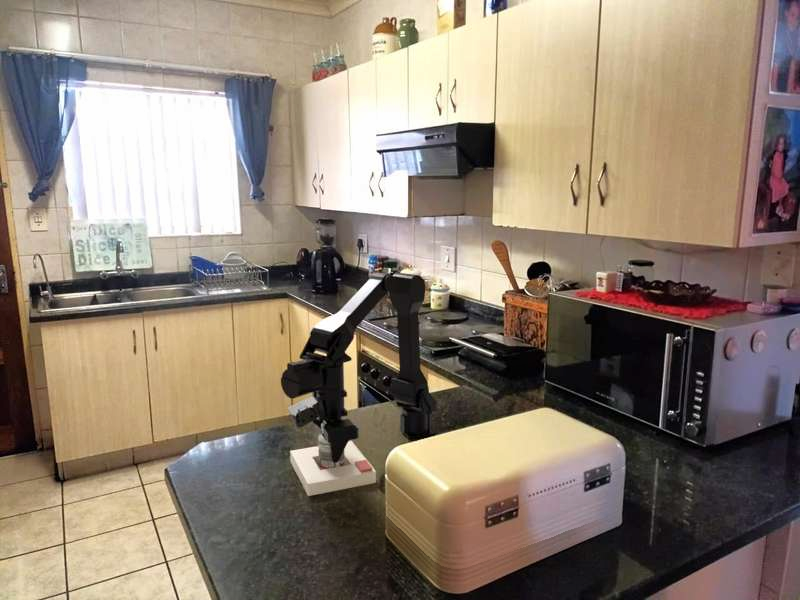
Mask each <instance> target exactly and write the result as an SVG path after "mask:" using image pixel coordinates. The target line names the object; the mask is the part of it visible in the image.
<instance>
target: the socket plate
mask: <svg viewBox="0 0 800 600" xmlns="http://www.w3.org/2000/svg"><path fill="white" fill-rule="evenodd" d="M289 455H290V456H289V461H290V463H291V464H290V465H292V467H293V470H294V471H295V473H296V476H297V477H298V479H299V481H300V483H301V485H302V487H303V489H304V491H305V493H306V495H307V496H308V497H310V496H315V495H321V494H325V493H332V492H336V491H340V490H341V491H342V490H346V489H351V488H357V487H362V486H366V485H371V484H376V483H377V471H376V470H375V468H374V467H373V465H372V464H371V463H370V462H369V461H368V459H367V458H366V456H365V455H363V453H362V452H361V450H360V449H359V448H358V447H357V446H356V444H355V443H354V442H353V440H349V441H348V443H347V445H346V447H345V449H344V456H345V466H341V467H335V468H330V469H324V470H320V468H319V447H318V445H317V446H311V447H306V448H305V447H304V448H299V449H298V448H297V449H294V450H289Z"/></svg>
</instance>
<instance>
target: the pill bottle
mask: <svg viewBox="0 0 800 600" xmlns="http://www.w3.org/2000/svg"><path fill="white" fill-rule="evenodd" d="M325 425H326V423H325V422H323V423H322V424H321V431H322V433H320V432H319V434H318V438H317V440H318V445H317V446H318V447H319V469H320V470H324V469H330V468H335V467H341V466H345V456H344V451H343V453H342V455H341V457H340V459H339V461H338V462H336V463H333V461H332V456H331V451H330V446H329V443H328V442H327V441H326V440H325V439H324V437H323V436H322V434H323V433H324V432H323V427H324V426H325Z"/></svg>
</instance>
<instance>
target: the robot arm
mask: <svg viewBox="0 0 800 600" xmlns="http://www.w3.org/2000/svg"><path fill="white" fill-rule="evenodd" d="M387 294H388V295H389V301H390V303H391V305H392V306H393V308H394V309H395V311H396V316H397V317H396V319H397V320H396V321H397V322H396V323H397V336H398V337H397V338H398V340H397V342H398V358H399V360H398V362H399V371H398V372H397V375H396V376H395V377H393V378H391V380H390V383H391V392H390V393H391V395H393V399H394V400H395V403H396V406H397V407H398V408H401V412H402V413H401V414H400V417H399V420H400V423H399V428H398V429H399V431H401V432H402V433H403V434H404V435H405V436H406V437H407V438H408V439H416V438H421V437H425V436H426V437H427V436H431V435H432V436H433V435H434V431H432V430H431V414H433V412H434V411H436V409H437V405H438V404H437V403H438V401H437V400H436V398H435V397H434V396H433V395H432V394H431V393H430V388H429V383H428V380H427V378H426V376H425V374H424V373H423V371H422V370H421V369H422V367H421V349H420V347H421V346H420V323H419V319H420V318H419V312H420V309H421V307H422V306H423V304H424V301H425V299H426V297H425V296H426V281H425V279H424V278H423V277H422V276H421V275H418V274H414V273H413V274H411V273H404V272H403V273H402V272H395V273H393V275H391V274H389V273H384V272H383V273H382V272H374V273H371V274H370V276H369V277H368V279H367V281H366V282H365V283H364V284H363V286H361V288H360V289H359V290H358V291H357V292H356V293H355V294H354V295H353V296H352V297H351V298H350V299H349V300H348V301H347V303H345V304H344V306H343V307H342V308H341V309H340V310H339V311H338V312H337V313H335V314H333V315H330V316H327V317H326V318H325V317H324V319H322V320H321V321H320V322H318V323H317V324H316V325H314V326H313V327H312V329H311V330H310V333H309V336H308V339H307V341H306V343H305V345H304V347H303V348H302V351H301V352H300V355H299V359H300V360H299V361H291V362H288V363H287V364H286V367H287V368H286V369H285V370H283V372H282V375H281V378H280V387H281V389H282V391H283V393H284V395H286V396H287V398H289V399H290V400H291V399H292V400H293V399H296V398H300V397H302V396H305V395H310V394H312V395H311V396H310V397H308V398H303V400H300V401H298V402H295V403H294V404H293V405H290V406H289V407H288V408H287V410H288V412H289V415H290V418H291V420H292V422H293V424H294V425H295V427H296V428H297V429H300V428H303V427H304V426H306V425H308V424H310V423H313V424H314V425H315V426H317V427H318V430H319V434H320V433H322V431H321V424H322V423H323V422H325V423H326V425H325V426H324V427H323V432H324V433H323V434H322V436H323V437H324V439H325V440H326V441H327V442H328V443H329V446H330V451H331V456H332V461H333V463H336V462H338V461H339V459H340V457H341V455H342V453H343V451H344V449H345V447H346V445H347V443H348V441H353V440H357V439H359V436H360V435H359V432H360V431H359V427H358V426H357V425H356V424H355V423H354V422H353V421H352V420H351V419H350V418H345V419H342V417H348V410H347V409H346V408H345V398H347V397H348V391H347V390H346V389H345V373H344V372H345V371H344V370H345V367H344V366H345V365H344V364H345V363H349V362H351V361H352V360H353V358H352V357H351V356H350V355H348V354H347V353H346V351H347V350H348V348H349V347H350V346H351V344H352V342H353V341H354V338H355V333H356V329H357V328H358V326H359V325H360V324H361V323H362V322H363V321H364V320H365V318H366V317H367V316H369V314H370V313H371V312H372V311H373V310H374V308H375V307H376V306H378V304H379V303H380V302H381V301H382V299H383V298H385V296H386V295H387ZM316 352H317V353H316ZM318 352H319V353H322V354H319V353H318ZM323 354H326V355H323Z"/></svg>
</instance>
